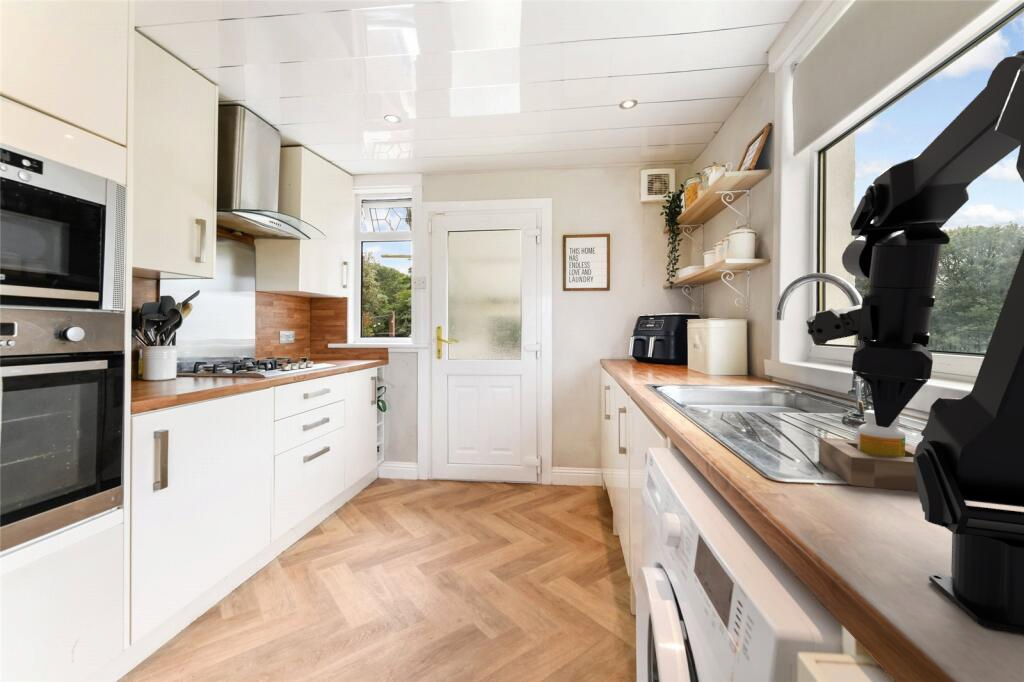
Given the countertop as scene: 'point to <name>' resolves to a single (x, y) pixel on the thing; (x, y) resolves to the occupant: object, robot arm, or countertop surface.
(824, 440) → the walnut collar
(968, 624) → the countertop surface
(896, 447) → the supplement bottle
